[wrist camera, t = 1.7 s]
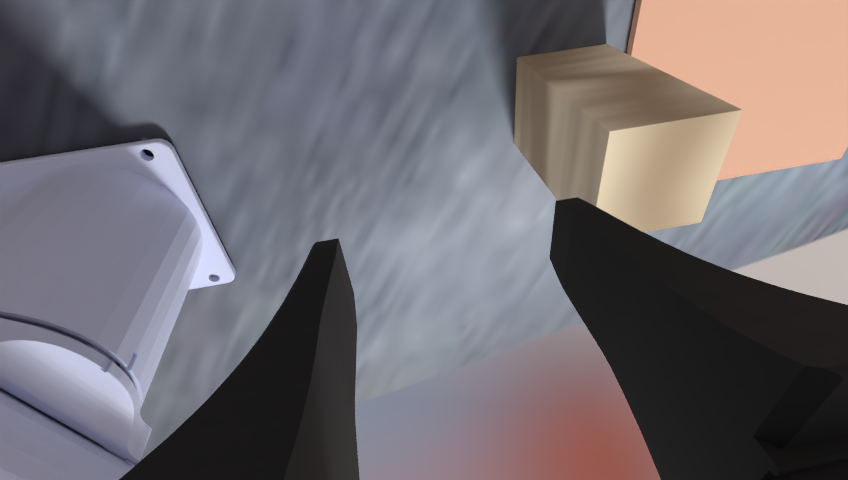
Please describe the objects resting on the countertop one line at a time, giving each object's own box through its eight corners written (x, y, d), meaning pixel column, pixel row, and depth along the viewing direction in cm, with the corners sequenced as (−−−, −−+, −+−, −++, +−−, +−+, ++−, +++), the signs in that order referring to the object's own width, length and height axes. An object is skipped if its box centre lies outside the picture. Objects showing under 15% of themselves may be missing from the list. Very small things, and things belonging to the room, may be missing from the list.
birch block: (514, 143, 21) (589, 242, 15) (517, 57, 18) (609, 131, 12) (592, 130, 21) (700, 222, 15) (606, 43, 19) (742, 109, 12)
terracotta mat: (600, 196, 24) (603, 200, 23) (649, -73, 16) (655, -72, 16) (834, 155, 24) (840, 158, 24) (982, -117, 17) (994, -117, 17)
